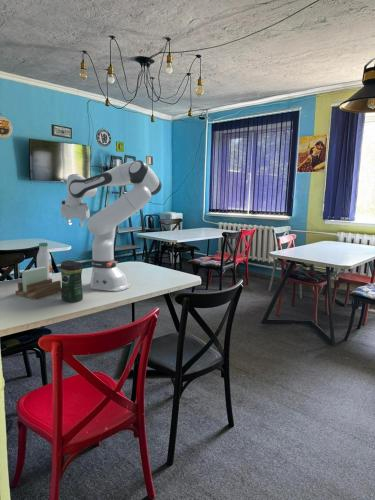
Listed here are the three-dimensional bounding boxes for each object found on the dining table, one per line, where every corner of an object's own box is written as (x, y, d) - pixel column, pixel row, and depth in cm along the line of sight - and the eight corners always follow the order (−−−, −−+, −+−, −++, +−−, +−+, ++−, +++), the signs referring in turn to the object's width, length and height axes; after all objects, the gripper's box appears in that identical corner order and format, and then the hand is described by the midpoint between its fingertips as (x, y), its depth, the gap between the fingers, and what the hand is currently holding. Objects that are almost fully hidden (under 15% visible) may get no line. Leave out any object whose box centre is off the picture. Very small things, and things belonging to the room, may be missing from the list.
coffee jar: (86, 299, 163) (85, 261, 159) (72, 303, 156) (71, 263, 153) (72, 295, 168) (71, 258, 164) (58, 299, 161) (57, 260, 158)
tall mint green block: (47, 286, 176) (46, 267, 174) (27, 292, 166) (26, 272, 164) (43, 285, 178) (42, 266, 176) (22, 291, 167) (21, 271, 165)
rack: (63, 291, 174) (63, 280, 173) (36, 299, 160) (35, 288, 159) (43, 286, 181) (42, 276, 180) (15, 294, 167) (14, 283, 166)
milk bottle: (46, 279, 194) (45, 244, 191) (34, 278, 196) (32, 243, 192) (54, 276, 202) (53, 242, 198) (42, 275, 203) (41, 241, 200)
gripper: (92, 203, 200) (92, 226, 203) (66, 201, 210) (67, 223, 212) (84, 203, 195) (84, 227, 197) (58, 201, 204) (59, 224, 207)
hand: (75, 225), depth 205 cm, fingers open, 8 cm apart
